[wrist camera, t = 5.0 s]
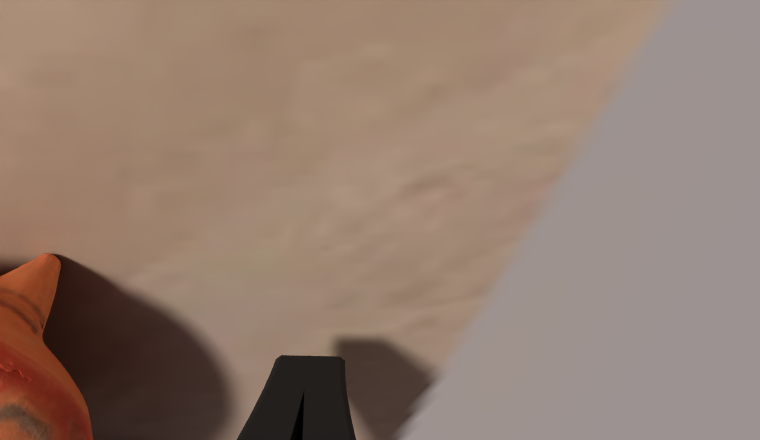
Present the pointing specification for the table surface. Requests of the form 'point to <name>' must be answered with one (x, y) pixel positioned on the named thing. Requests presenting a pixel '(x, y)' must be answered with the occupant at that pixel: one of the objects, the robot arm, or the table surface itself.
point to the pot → (35, 361)
